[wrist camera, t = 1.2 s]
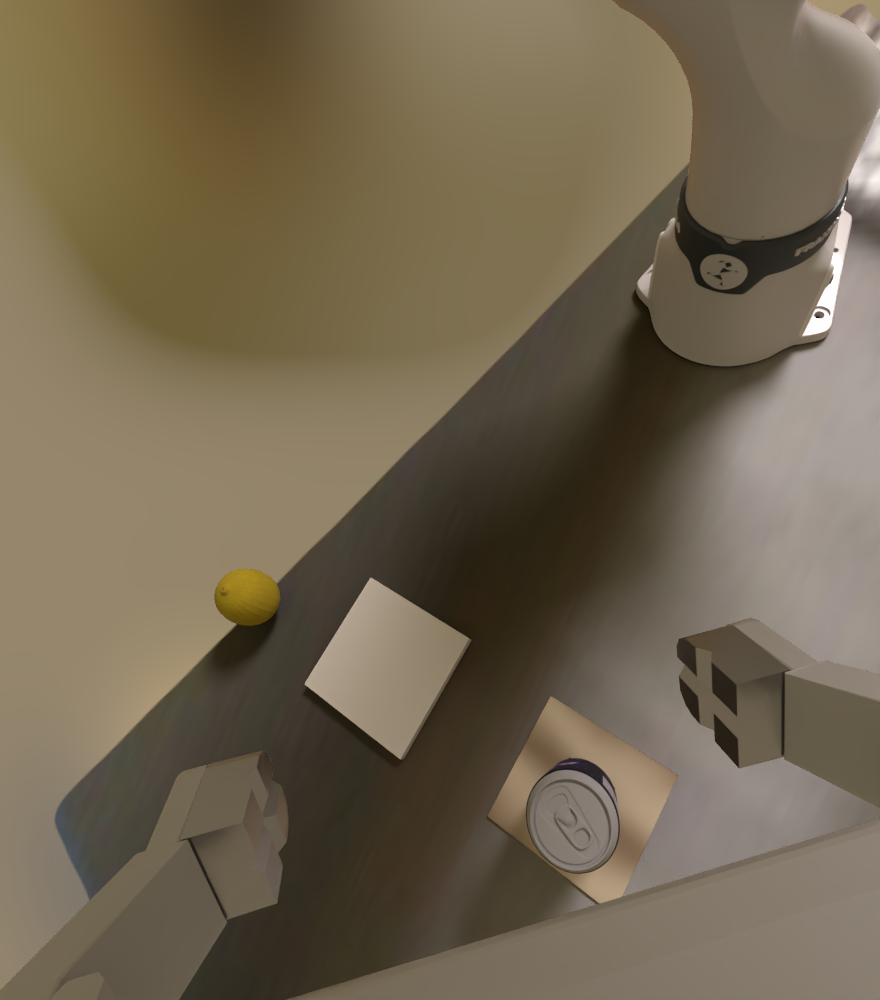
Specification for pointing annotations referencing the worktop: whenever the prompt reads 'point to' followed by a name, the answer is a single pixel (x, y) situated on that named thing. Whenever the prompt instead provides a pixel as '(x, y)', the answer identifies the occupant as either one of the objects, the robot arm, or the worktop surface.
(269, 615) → the lemon
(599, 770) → the beverage can
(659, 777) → the pad
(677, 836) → the worktop surface
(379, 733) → the mat
